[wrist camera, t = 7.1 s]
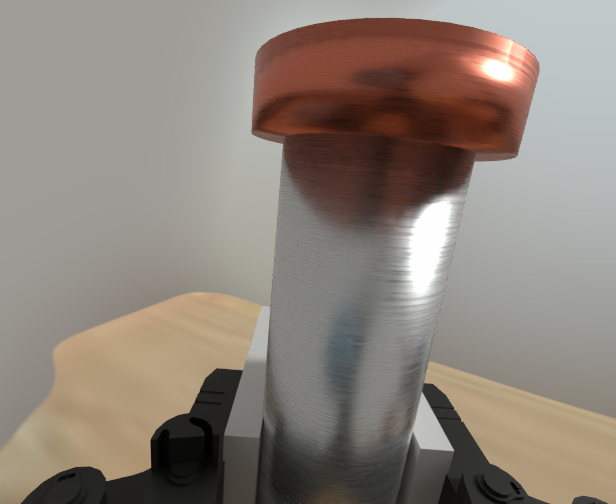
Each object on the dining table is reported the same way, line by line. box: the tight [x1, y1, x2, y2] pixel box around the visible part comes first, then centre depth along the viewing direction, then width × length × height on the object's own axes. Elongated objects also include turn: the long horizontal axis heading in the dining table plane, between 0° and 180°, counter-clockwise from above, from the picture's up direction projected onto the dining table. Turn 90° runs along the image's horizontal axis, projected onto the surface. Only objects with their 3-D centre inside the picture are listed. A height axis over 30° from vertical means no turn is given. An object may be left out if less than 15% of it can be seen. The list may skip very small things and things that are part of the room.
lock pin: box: [252, 18, 540, 504], centre depth 8 cm, size 5×5×19 cm
